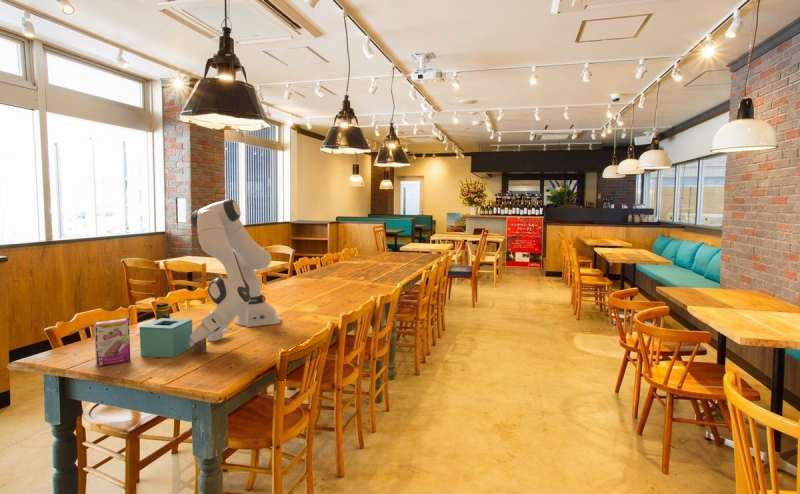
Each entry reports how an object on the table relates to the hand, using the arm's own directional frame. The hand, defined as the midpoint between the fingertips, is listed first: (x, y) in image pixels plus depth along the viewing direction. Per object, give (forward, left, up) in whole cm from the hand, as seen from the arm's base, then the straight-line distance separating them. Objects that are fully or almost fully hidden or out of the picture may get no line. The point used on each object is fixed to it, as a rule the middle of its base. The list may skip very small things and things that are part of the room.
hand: (197, 341), depth 191 cm
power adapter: (-6, -19, -5) cm, 21 cm away
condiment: (+24, -45, -5) cm, 51 cm away
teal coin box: (+13, -5, -5) cm, 14 cm away
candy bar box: (+30, +5, -5) cm, 30 cm away
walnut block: (0, 0, -5) cm, 5 cm away
